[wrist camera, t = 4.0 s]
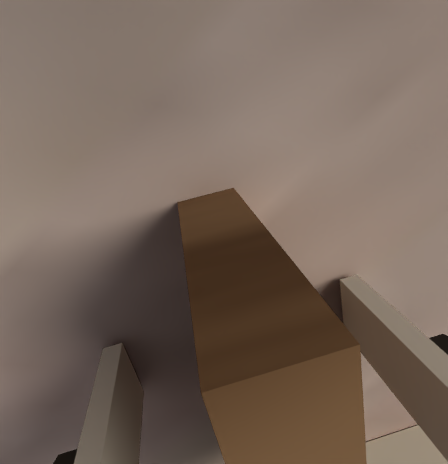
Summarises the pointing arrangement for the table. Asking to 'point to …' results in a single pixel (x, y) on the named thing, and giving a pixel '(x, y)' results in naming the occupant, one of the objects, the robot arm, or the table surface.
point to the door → (267, 344)
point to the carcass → (404, 449)
